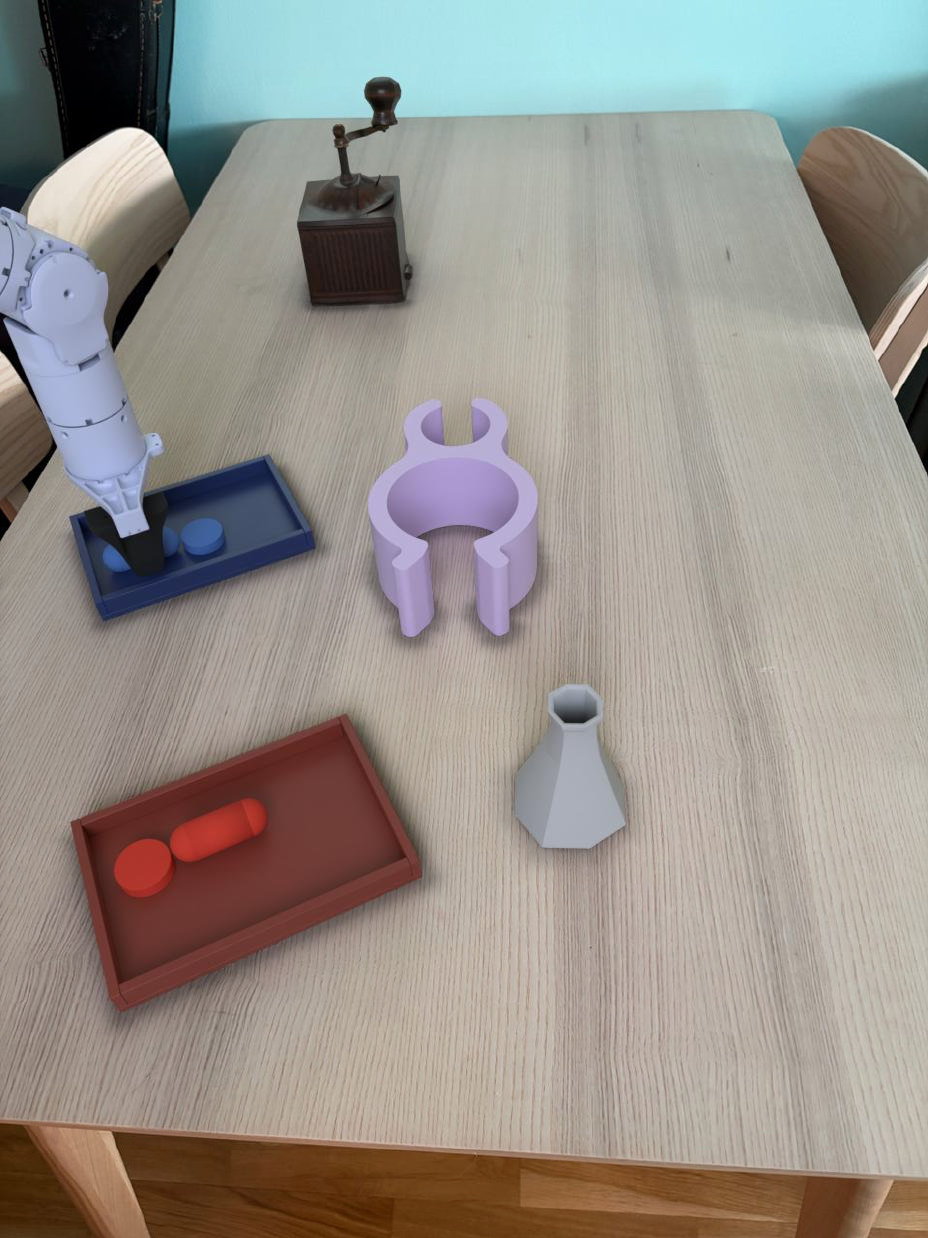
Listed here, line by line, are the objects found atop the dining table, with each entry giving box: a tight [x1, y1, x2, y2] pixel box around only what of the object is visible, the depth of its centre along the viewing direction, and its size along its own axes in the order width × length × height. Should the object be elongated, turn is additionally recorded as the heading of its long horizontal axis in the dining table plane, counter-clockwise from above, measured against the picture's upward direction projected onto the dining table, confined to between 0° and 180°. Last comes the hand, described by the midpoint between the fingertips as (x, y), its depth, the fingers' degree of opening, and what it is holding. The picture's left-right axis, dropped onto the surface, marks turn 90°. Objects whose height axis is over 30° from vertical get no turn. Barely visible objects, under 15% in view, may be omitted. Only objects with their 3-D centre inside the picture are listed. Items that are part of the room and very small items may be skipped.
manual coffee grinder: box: [296, 76, 414, 307], centre depth 103 cm, size 16×11×18 cm
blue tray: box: [68, 453, 317, 622], centre depth 79 cm, size 17×11×2 cm, turn 115°
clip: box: [367, 397, 539, 638], centre depth 76 cm, size 20×12×7 cm, turn 179°
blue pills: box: [103, 518, 225, 572], centre depth 77 cm, size 10×3×2 cm, turn 115°
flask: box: [513, 683, 627, 850], centre depth 58 cm, size 7×7×10 cm
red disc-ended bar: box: [114, 798, 268, 897], centre depth 59 cm, size 10×3×2 cm, turn 115°
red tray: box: [70, 713, 423, 1013], centre depth 59 cm, size 18×12×2 cm
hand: (142, 548), depth 77 cm, fingers open, 5 cm apart
